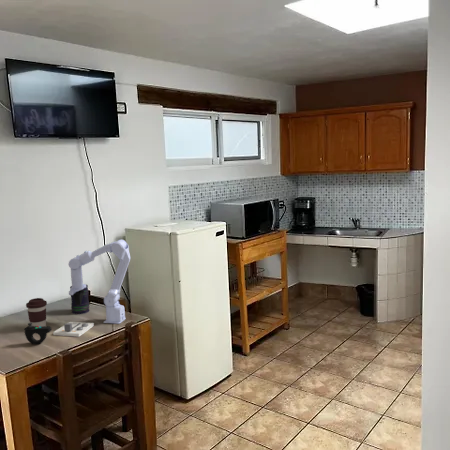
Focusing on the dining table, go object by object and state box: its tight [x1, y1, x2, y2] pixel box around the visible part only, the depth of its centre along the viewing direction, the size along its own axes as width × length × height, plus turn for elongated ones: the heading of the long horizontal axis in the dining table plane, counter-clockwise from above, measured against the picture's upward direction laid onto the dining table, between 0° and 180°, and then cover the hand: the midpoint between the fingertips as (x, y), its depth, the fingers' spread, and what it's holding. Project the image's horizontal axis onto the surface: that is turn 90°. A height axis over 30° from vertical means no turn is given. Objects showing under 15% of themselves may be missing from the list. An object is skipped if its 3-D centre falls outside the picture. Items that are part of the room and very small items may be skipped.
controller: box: [24, 322, 53, 345], centre depth 218 cm, size 4×12×10 cm, turn 91°
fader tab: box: [63, 322, 72, 331], centre depth 229 cm, size 3×2×4 cm, turn 78°
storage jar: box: [69, 284, 90, 315], centre depth 263 cm, size 10×10×15 cm
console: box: [52, 321, 95, 338], centre depth 234 cm, size 14×15×2 cm
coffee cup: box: [25, 297, 48, 326], centre depth 239 cm, size 10×10×15 cm
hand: (78, 304), depth 246 cm, fingers closed
